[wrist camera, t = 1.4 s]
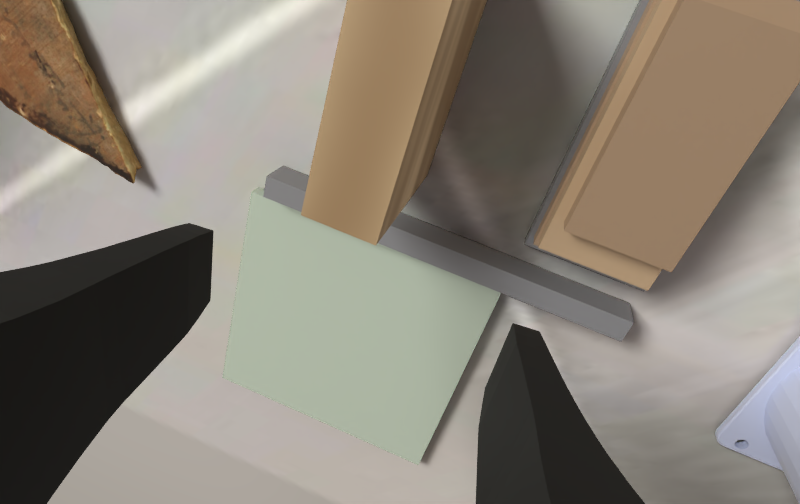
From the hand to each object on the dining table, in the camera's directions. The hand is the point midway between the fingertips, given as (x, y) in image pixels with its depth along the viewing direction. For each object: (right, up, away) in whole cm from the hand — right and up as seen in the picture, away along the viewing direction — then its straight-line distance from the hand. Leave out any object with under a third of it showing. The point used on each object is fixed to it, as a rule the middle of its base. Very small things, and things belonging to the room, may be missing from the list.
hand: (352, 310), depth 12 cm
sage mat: (-2, -3, +14) cm, 15 cm away
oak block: (+2, +9, +8) cm, 12 cm away
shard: (-15, +11, +12) cm, 22 cm away
